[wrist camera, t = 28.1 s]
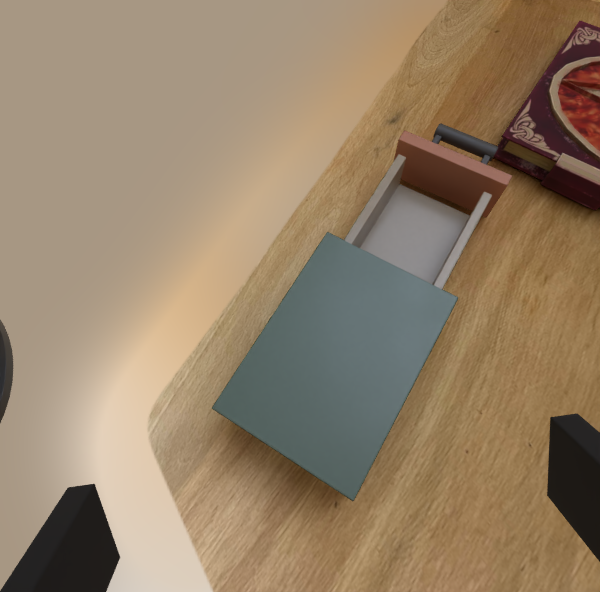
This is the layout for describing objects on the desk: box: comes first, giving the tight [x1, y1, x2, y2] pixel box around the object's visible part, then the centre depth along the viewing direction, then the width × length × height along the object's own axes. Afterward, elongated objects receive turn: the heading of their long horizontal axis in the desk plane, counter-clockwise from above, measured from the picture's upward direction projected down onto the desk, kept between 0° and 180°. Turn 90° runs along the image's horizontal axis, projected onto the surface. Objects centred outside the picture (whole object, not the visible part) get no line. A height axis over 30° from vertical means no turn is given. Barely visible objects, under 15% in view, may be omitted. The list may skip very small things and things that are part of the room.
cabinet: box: [212, 232, 458, 501], centre depth 35 cm, size 17×12×7 cm
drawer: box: [344, 124, 512, 289], centre depth 40 cm, size 20×10×5 cm, turn 149°
